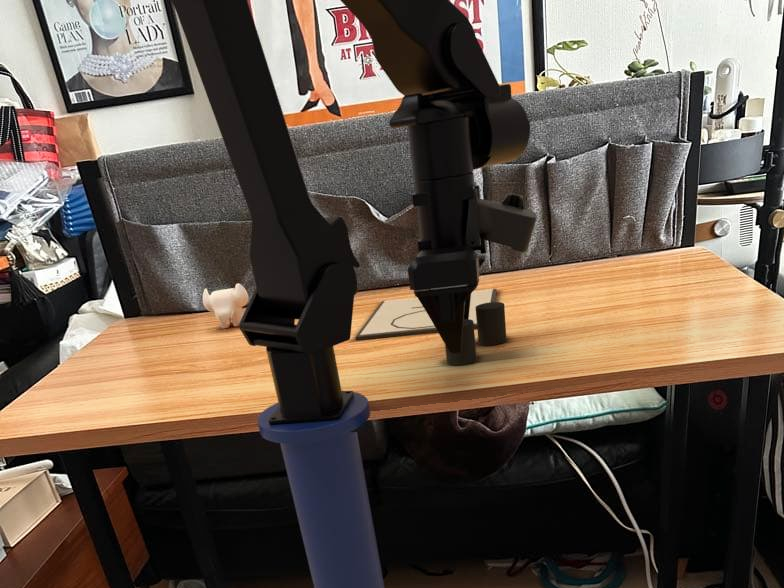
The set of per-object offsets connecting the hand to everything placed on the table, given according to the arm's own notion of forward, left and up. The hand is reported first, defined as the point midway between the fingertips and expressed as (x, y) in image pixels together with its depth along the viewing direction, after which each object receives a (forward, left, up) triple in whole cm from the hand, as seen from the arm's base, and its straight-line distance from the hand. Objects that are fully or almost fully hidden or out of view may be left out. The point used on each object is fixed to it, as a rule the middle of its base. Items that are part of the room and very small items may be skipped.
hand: (459, 340), depth 76 cm
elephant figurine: (+28, +37, -2) cm, 47 cm away
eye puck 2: (+6, -3, -2) cm, 7 cm away
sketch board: (+23, +6, -2) cm, 24 cm away
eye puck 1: (0, 0, -2) cm, 2 cm away
